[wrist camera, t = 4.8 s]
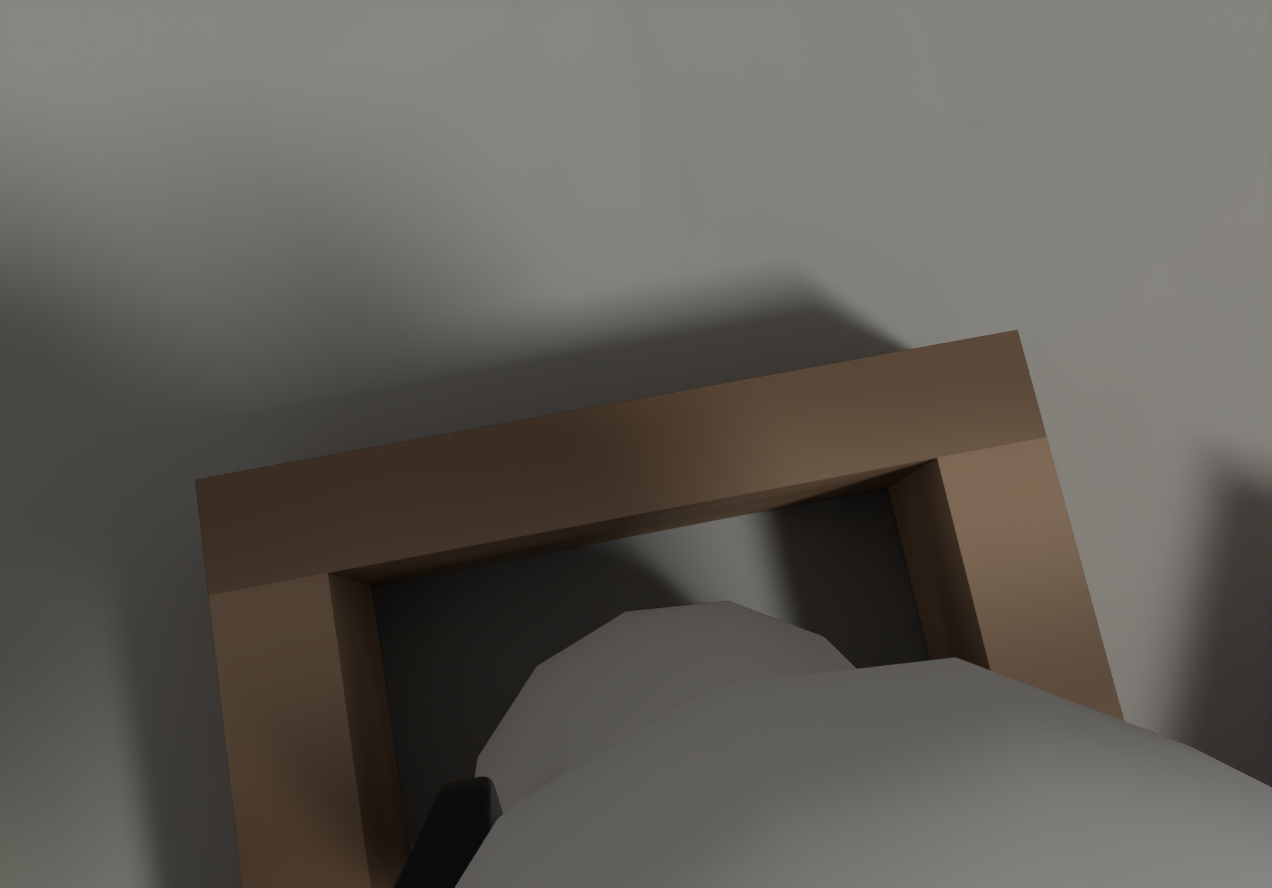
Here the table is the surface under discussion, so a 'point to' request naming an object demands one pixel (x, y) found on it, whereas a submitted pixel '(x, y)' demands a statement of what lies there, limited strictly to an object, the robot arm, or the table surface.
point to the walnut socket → (606, 510)
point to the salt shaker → (838, 774)
